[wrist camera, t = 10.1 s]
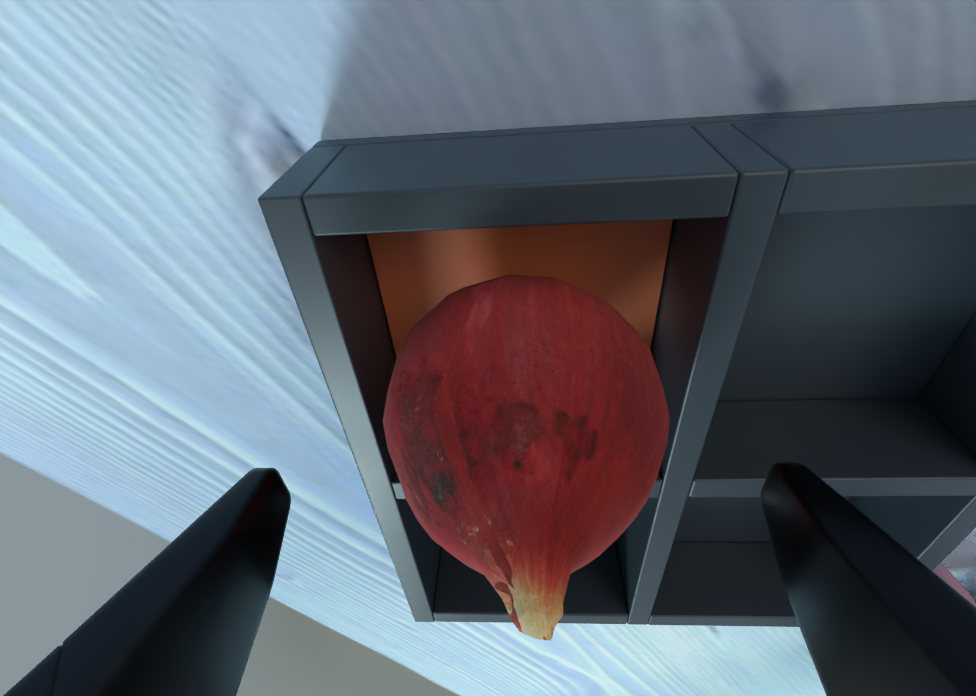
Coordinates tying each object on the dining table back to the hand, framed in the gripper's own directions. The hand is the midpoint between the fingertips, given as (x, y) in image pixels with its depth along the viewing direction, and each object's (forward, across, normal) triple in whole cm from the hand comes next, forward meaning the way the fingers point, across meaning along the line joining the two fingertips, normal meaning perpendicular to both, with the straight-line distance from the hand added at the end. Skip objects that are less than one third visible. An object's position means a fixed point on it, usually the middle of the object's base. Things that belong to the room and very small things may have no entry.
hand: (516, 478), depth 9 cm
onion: (+6, 0, 0) cm, 6 cm away
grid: (+6, -4, +4) cm, 9 cm away
